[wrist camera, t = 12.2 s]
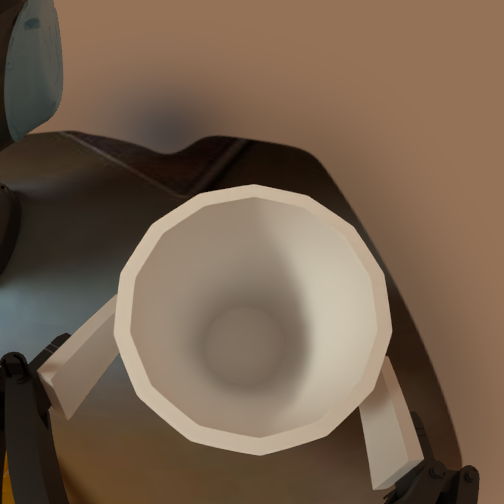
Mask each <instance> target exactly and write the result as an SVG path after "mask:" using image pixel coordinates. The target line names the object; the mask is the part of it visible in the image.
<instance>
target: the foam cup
mask: <svg viewBox="0 0 504 504" xmlns="http://www.w3.org/2000/svg"><path fill="white" fill-rule="evenodd" d="M391 334H392V325H391V317H390V309H389V302H388V295H387V289H386V283H385V277H384V273H383V272H382V270H381V268H380V267H379V265H378V264H377V262H376V260H375V259H374V257H373V256H372V254H371V253H370V251H369V249H368V248H367V246H366V245H365V243H364V242H363V240H362V239H361V237H360V236H359V234H358V233H357V231H356V230H355V228H354V227H353V226H352V225H350V224H349V223H347V222H346V221H344V220H343V219H342V218H340V217H339V216H337V215H336V214H334V213H333V212H331V211H330V210H328V209H327V208H325V207H324V206H322V205H321V204H319V203H318V202H316V201H315V200H313V199H312V198H310V197H309V196H306V195H302V194H298V193H293V192H289V191H284V190H279V189H275V188H270V187H265V186H260V185H255V184H253V185H246V186H240V187H234V188H228V189H223V190H217V191H211V192H206V193H201V194H198V195H197V196H195V197H193V198H192V199H190V200H189V201H187V202H185V203H184V204H182V205H181V206H179V207H178V208H176V209H174V210H173V211H171V212H170V213H168V214H167V215H165V216H164V217H162V218H161V219H159V220H158V221H156V222H155V223H153V224H152V225H151V226H150V228H149V229H148V231H147V232H146V234H145V235H144V237H143V238H142V240H141V242H140V243H139V245H138V246H137V248H136V249H135V251H134V252H133V254H132V256H131V257H130V259H129V260H128V262H127V263H126V265H125V267H124V268H123V270H122V272H121V273H120V280H119V287H118V295H117V304H116V313H115V323H114V337H115V340H116V343H117V346H118V349H119V351H120V354H121V357H122V359H123V362H124V365H125V367H126V370H127V372H128V375H129V377H130V380H131V382H132V384H133V387H134V389H135V391H136V394H137V396H138V397H139V398H140V399H141V400H142V401H143V402H145V403H146V404H147V405H148V406H149V407H150V408H151V409H152V410H153V411H155V412H156V413H157V414H158V415H159V416H160V417H161V418H163V419H164V420H165V421H166V422H167V423H169V424H170V425H171V426H172V427H173V428H175V429H176V430H177V431H178V432H180V433H181V434H182V435H183V436H185V437H186V438H187V439H189V440H190V441H193V442H196V443H200V444H204V445H208V446H213V447H217V448H221V449H226V450H231V451H236V452H242V453H247V454H254V455H265V454H269V453H273V452H276V451H280V450H284V449H287V448H291V447H294V446H297V445H301V444H304V443H307V442H310V441H313V440H316V439H319V438H322V437H325V436H327V435H328V434H329V433H330V432H332V431H333V430H334V429H335V428H336V427H337V426H338V425H339V424H340V423H341V422H342V421H343V420H344V419H345V418H346V417H347V416H348V415H350V414H351V413H352V412H353V411H354V410H355V409H356V408H357V406H358V405H359V404H360V403H361V402H362V401H363V400H364V399H365V398H366V397H367V396H368V395H369V394H370V393H371V392H372V391H373V389H374V387H375V384H376V381H377V378H378V376H379V373H380V370H381V367H382V364H383V361H384V358H385V354H386V351H387V348H388V345H389V341H390V338H391Z"/></svg>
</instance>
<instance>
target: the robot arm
mask: <svg viewBox="0 0 504 504" xmlns="http://www.w3.org/2000/svg"><path fill="white" fill-rule="evenodd" d="M62 91H63V61H62V47H61V38H60V30H59V23H58V17H57V12H56V9H55V8H54V2H53V0H0V152H1V151H2V150H4V149H5V148H7V147H8V146H10V145H11V144H13V143H14V142H19V141H21V140H22V139H23V138H24V137H25V135H26V134H27V133H29V132H30V131H32V130H33V129H35V128H36V127H38V126H40V125H41V124H43V123H44V122H46V121H48V120H49V119H50V118H51V117H52V116H53V115H54V114H55V112H56V111H57V108H58V107H59V105H60V102H61V98H62ZM19 225H20V204H19V201H18V199H17V197H16V196H15V195H14V194H13V193H12V192H11V190H10V189H9V188H8V187H7V186H6V185H4V184H2V183H0V274H1V272H2V271H3V269H4V267H5V265H6V263H7V261H8V259H9V257H10V255H11V252H12V250H13V247H14V245H15V242H16V238H17V235H18V230H19ZM116 304H117V294H116V295H115V296H114V297H113V298H111V299H110V300H109V301H108V302H107V303H106V304H105V305H104V306H103V307H102V308H101V309H99V310H98V311H97V312H96V313H95V314H94V315H93V316H92V317H91V318H90V319H89V320H88V321H87V322H86V323H84V324H83V325H82V326H81V327H80V328H79V329H78V330H77V331H76V332H75V333H74V334H73V335H70V334H68V333H64V334H62V335H60V336H58V337H56V338H55V339H54V340H53V341H52V342H51V344H49V345H48V346H47V347H46V348H45V349H44V350H43V351H42V352H41V353H40V354H39V355H37V356H36V357H35V358H34V359H33V360H32V361H31V362H30V363H29V364H27V361H26V358H25V357H24V356H23V354H21V353H19V352H10V353H7V354H5V355H4V356H3V357H2V358H1V360H0V366H1V367H0V504H2V489H3V474H4V464H5V456H6V451H7V461H8V469H9V476H10V482H11V488H12V493H13V498H14V502H15V504H69V501H68V498H67V495H66V492H65V488H64V485H63V481H62V478H61V474H60V470H59V465H58V461H57V456H56V452H55V446H54V441H53V435H52V429H51V422H50V414H49V411H48V409H49V408H50V406H51V405H52V407H53V409H54V411H55V413H57V414H58V415H60V416H61V417H63V418H65V419H66V420H69V419H70V418H71V416H72V415H73V413H74V412H75V411H76V409H77V408H78V407H79V405H80V404H81V402H82V401H83V400H84V398H85V397H86V396H87V394H88V393H89V392H90V390H91V389H92V388H93V386H94V385H95V384H96V382H97V381H98V380H99V378H100V377H101V376H102V374H103V373H104V372H105V370H106V369H107V368H108V366H109V365H110V364H111V363H112V361H113V360H114V359H115V357H116V356H117V355H118V353H119V352H120V351H119V349H118V346H117V343H116V340H115V337H114V323H115V313H116ZM359 410H360V415H361V420H362V425H363V431H364V436H365V442H366V448H367V454H368V460H369V467H370V473H371V480H372V488H373V490H380V489H388V488H389V487H390V486H392V485H393V484H394V483H395V486H396V489H394V490H393V491H392V492H390V493H389V494H387V495H386V496H385V497H384V498H383V499H386V498H387V497H388V499H387V500H386V502H385V503H384V504H477V501H478V490H479V473H478V471H477V469H476V468H475V467H473V466H471V465H467V466H465V467H463V468H462V469H461V470H460V471H453V470H447V469H446V467H445V465H444V464H442V463H441V462H439V461H435V459H434V456H433V453H432V450H431V447H430V444H429V441H428V438H427V436H426V432H425V429H424V426H423V423H422V421H421V419H420V417H419V416H418V415H417V414H416V412H409V410H408V407H407V404H406V402H405V399H404V396H403V393H402V391H401V388H400V385H399V383H398V380H397V378H396V375H395V373H394V370H393V367H392V365H391V362H390V360H389V358H388V356H385V358H384V361H383V364H382V367H381V370H380V373H379V376H378V378H377V381H376V384H375V387H374V389H373V391H372V392H371V393H370V394H369V395H368V396H367V397H366V398H365V399H364V400H363V401H362V402H361V403H360V404H359Z"/></svg>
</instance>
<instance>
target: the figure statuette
mask: <svg viewBox="0 0 504 504" xmlns="http://www.w3.org/2000/svg"><path fill="white" fill-rule="evenodd" d="M7 470H8V461H7V451H6V456H5V464H4V473H5V472H6V471H7ZM2 504H15V502H14V498H13V493H12V488H11V482H10V476H9V474H6V475H4V474H3V489H2Z"/></svg>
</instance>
